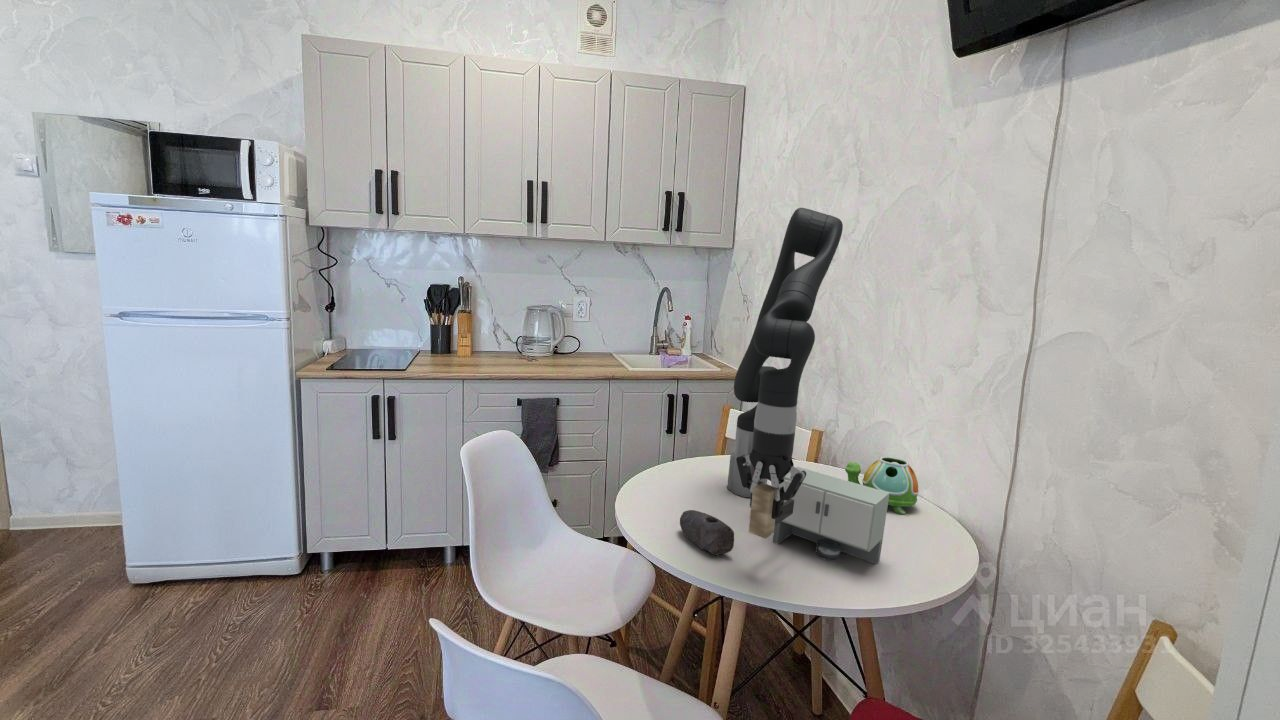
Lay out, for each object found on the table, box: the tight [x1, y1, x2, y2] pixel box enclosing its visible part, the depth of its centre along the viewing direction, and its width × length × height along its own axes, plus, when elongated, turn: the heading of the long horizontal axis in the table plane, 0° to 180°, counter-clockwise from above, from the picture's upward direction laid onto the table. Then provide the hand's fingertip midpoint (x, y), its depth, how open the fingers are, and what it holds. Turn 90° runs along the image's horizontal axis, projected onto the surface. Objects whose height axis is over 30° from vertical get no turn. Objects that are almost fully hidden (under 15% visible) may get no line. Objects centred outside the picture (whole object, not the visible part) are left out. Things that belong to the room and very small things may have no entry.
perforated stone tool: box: [679, 509, 735, 556], centre depth 129 cm, size 15×5×7 cm, turn 32°
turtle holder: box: [844, 456, 920, 515], centre depth 159 cm, size 12×18×12 cm
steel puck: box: [815, 539, 842, 561], centre depth 129 cm, size 5×5×2 cm
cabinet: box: [772, 466, 890, 565], centre depth 129 cm, size 20×9×15 cm, turn 52°
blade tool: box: [748, 483, 794, 539], centre depth 121 cm, size 4×15×9 cm, turn 142°
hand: (765, 513), depth 117 cm, fingers closed on blade tool, 3 cm apart
